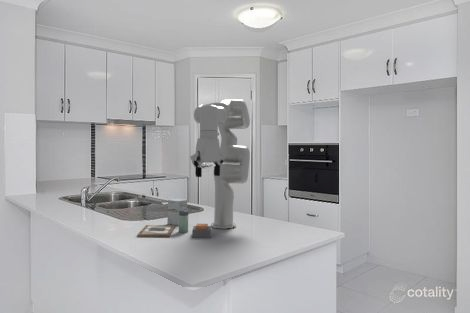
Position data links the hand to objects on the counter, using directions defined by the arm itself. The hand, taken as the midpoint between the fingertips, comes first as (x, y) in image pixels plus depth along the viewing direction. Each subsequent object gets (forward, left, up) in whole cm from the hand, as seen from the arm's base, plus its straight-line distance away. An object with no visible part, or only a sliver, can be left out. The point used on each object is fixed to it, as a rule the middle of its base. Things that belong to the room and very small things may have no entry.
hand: (207, 176), depth 151 cm
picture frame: (-18, -24, -28) cm, 41 cm away
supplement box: (-37, -17, -28) cm, 49 cm away
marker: (-19, -12, -28) cm, 36 cm away
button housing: (-12, -3, -28) cm, 30 cm away
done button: (-12, -3, -26) cm, 29 cm away
